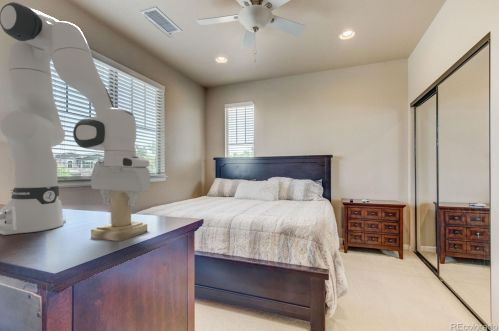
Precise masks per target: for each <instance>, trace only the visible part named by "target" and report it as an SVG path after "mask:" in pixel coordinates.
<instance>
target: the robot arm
mask: <svg viewBox="0 0 499 331" xmlns="http://www.w3.org/2000/svg"><path fill="white" fill-rule="evenodd" d="M0 26H1V28H2V30H3V32H4V33H5V34H6V35H8V36H10V37H12V38H13V39H15V40H14V41H13V42H11V44H10V45H9V52H8V58H7V59H8V61H7V62H8V65H7V66H8V76H9V77H8V78H9V85H10V86H9V88H10V94H11V98H12V99H13V100H14V103H15V104H16V106H17V108H18V110H16V111H10V112H9V113H6V114H5V115H4V116H3V117H2V118H1V119H0V131H1V134H2V135H3V136H4V137H5V138H6V140H7V142H8V144H9V149H10V151H11V154H12V158H13V162H14V177H15V178H14V181H15V182H14V184H15V186H14V188H13V189H10V191H12V192H10V194H11V197H10V198H11V199H10V200H9V202H8V203H7V204H5V205H4V206H3V207H2V208H0V235H3V236H5V235H6V236H7V235H14V234H16V235H17V234H24V233H25V234H26V233H34V232H42V231H48V230H51V229H52V230H53V229H56V228H59V227H61V226H63V225H64V224H65V223H66V222H67V220H66V218H64V213H63V206H62V201H61V200H60V199H59V196H60V186H59V185H58V163H57V161H56V159H55V157H54V154H53V149H52V148H53V147H56V146H59V145H61V144H62V143H63V142H64V140H65V137H66V132H65V130H64V128H63V126H62V123H61V119H60V114H59V111H58V109H57V105H56V101H55V95H54V88H53V78H52V69H51V61H52V65H53V68H54V70H55V72H56V73H57V75H58V77H59V79H60V80H62V82H64V83H65V84H66V85H68V86H70V87H71V88H72V89H74V90H75V91H78V93H80V94H81V95H82V96H84V97H85V98H86V99H87V100H88V101H89V102H90V104H91V105H92V107H93V109H94V112H95V114H96V115H95V116H92V117H89V118H82V119H80V120H79V121H78V122H76V123H75V125H74V127H73V131H72V137H73V140H74V142H75V143H76V144H77V145H78V146H79V147H80V148H83V149H85V150H92V151H93V150H94V151H101V152H103V160H101V159H100V160H97V161H96V162H95V163H94V164H93V169H92V170H91V172H92V173H91V178H90V187H91V189H92V190H100V195H101V198H102V199H103V201H102V203H103V205H111V198H112V197H110V195H109V193H110V191H118V192H130V194H129V196H131V198H130V200H128V202H127V203H128V204H127V205H128V206H131V207H135V206H136V203H137V202H136V201H137V199H138V197H139V196H140V193H144V192H148V191H149V190H150V188H151V171H150V170H149V168H148V167H149V166H150V161H149V159H145V158H143V157H142V156H138V155H137V150H136V147H135V146H136V145H135V144H136V140H137V120H136V117H135V115H134V114H133V113H132V112H130V111H128V110H125V109H121V108H117V107H115V106H114V103H113V100H112V98H111V96H110V93H109V92H108V89H107V87H106V84H105V83H104V82H103V80H102V78H101V76H100V74H99V71H98V69H97V66H96V64H95V61H94V58H93V55H92V52H91V49H90V47H89V44H88V41H87V39H86V38H85V36H84V34H83V31H81V29H80V28H79V27H78V26H77V25H75V24H73V23H71V22H69V21H64V20H63V21H59V20H58V19H56V18H54V17H53V16H50V15H47V14H45V13H43V12H41V11H38V10H35V9H33V8H31V7H30V6H27V5H26V4H23V3H18V2H8V3H6V4H5V5H3V6H2V8H1V9H0Z"/></svg>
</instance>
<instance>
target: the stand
mask: <svg viewBox="0 0 499 331" xmlns="http://www.w3.org/2000/svg"><path fill="white" fill-rule="evenodd" d="M146 231H147V232H148V223H143V222H139V221H131V224H129V225H126V226H112V225H111V222H110V223H107V224H103V225H99V226H96V227H95V228H92V229H91V230H90V239H97V240H98V239H99V240H108V241H109V240H110V241H114V242H115V241H116V242H122V241H125V240H127V239H130V238H133V237H135V236H138V235H141V234H144V233H147V232H146Z"/></svg>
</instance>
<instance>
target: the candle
mask: <svg viewBox="0 0 499 331" xmlns="http://www.w3.org/2000/svg"><path fill="white" fill-rule="evenodd" d="M131 196H132V195H130V194H128V193H127V192H126V191H121V192H119V193H114V195H112V196H111V197H110V198H111V204H110V216H111V217H110V221H111V222H110V223H111V225H112V226H126V225H129V224H131V222H132V206H128V205H127V204H128V203H127V202H128V200H130V198H131Z"/></svg>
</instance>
